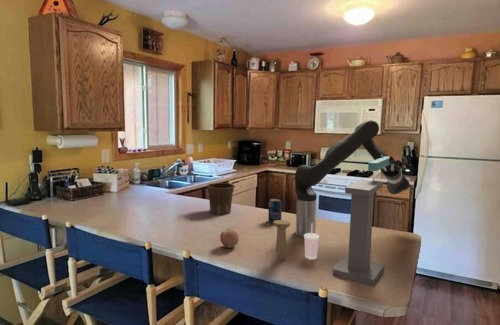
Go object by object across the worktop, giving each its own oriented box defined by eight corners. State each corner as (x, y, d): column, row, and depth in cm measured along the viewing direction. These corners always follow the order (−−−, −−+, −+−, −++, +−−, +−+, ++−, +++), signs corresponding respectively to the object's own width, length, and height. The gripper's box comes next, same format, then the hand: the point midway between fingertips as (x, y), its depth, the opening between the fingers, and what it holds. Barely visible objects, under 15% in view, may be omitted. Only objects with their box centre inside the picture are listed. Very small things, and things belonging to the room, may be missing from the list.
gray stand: (373, 285, 110) (378, 191, 106) (332, 274, 118) (336, 186, 114) (386, 266, 125) (391, 183, 121) (349, 257, 133) (353, 178, 129)
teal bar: (376, 171, 123) (376, 163, 123) (367, 170, 125) (368, 162, 124) (392, 163, 144) (392, 156, 144) (384, 163, 146) (385, 156, 146)
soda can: (270, 224, 174) (271, 201, 173) (266, 220, 181) (267, 198, 179) (283, 223, 176) (283, 201, 175) (278, 219, 183) (279, 197, 181)
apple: (229, 242, 148) (229, 225, 147) (242, 246, 143) (242, 228, 142) (216, 247, 142) (216, 229, 141) (229, 252, 137) (229, 233, 136)
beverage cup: (300, 257, 132) (301, 223, 130) (306, 252, 137) (308, 220, 135) (315, 261, 129) (316, 226, 127) (320, 256, 134) (322, 222, 132)
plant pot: (233, 208, 205) (233, 182, 203) (235, 215, 189) (235, 187, 187) (207, 208, 203) (206, 182, 201) (207, 216, 187) (206, 188, 185)
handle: (275, 255, 134) (275, 219, 132) (290, 257, 132) (291, 221, 130) (271, 259, 130) (271, 222, 128) (286, 262, 127) (287, 225, 125)
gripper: (378, 164, 159) (370, 148, 145) (410, 167, 151) (405, 150, 137) (375, 178, 156) (367, 164, 143) (407, 182, 148) (402, 167, 135)
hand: (385, 157), depth 140 cm, fingers closed on teal bar, 3 cm apart
